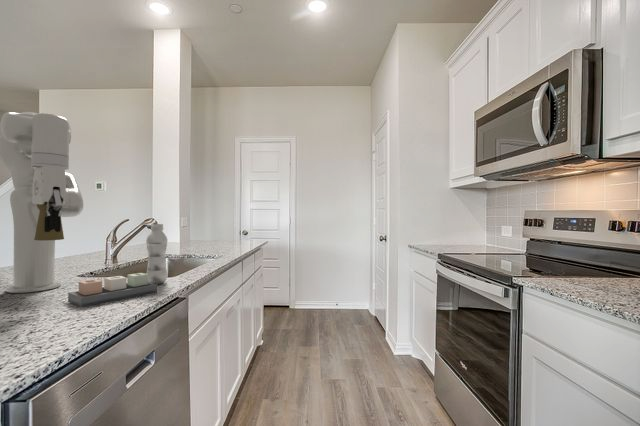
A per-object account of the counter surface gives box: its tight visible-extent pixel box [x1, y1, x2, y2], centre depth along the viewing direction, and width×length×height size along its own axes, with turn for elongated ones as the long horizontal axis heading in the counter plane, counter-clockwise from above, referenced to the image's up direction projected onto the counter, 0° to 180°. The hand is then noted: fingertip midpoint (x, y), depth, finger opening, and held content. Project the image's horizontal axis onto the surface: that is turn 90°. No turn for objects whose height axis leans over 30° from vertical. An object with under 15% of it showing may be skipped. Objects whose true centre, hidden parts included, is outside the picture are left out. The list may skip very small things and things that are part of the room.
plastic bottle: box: [145, 223, 168, 285], centre depth 106 cm, size 6×7×20 cm
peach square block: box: [78, 278, 103, 295], centre depth 84 cm, size 4×4×3 cm
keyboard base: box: [67, 282, 158, 309], centre depth 89 cm, size 9×19×2 cm, turn 145°
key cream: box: [103, 275, 127, 291], centre depth 89 cm, size 4×4×3 cm
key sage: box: [126, 272, 148, 287], centre depth 94 cm, size 4×4×3 cm
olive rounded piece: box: [34, 202, 65, 241], centre depth 84 cm, size 6×6×11 cm
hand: (49, 230), depth 84 cm, fingers closed on olive rounded piece, 4 cm apart
